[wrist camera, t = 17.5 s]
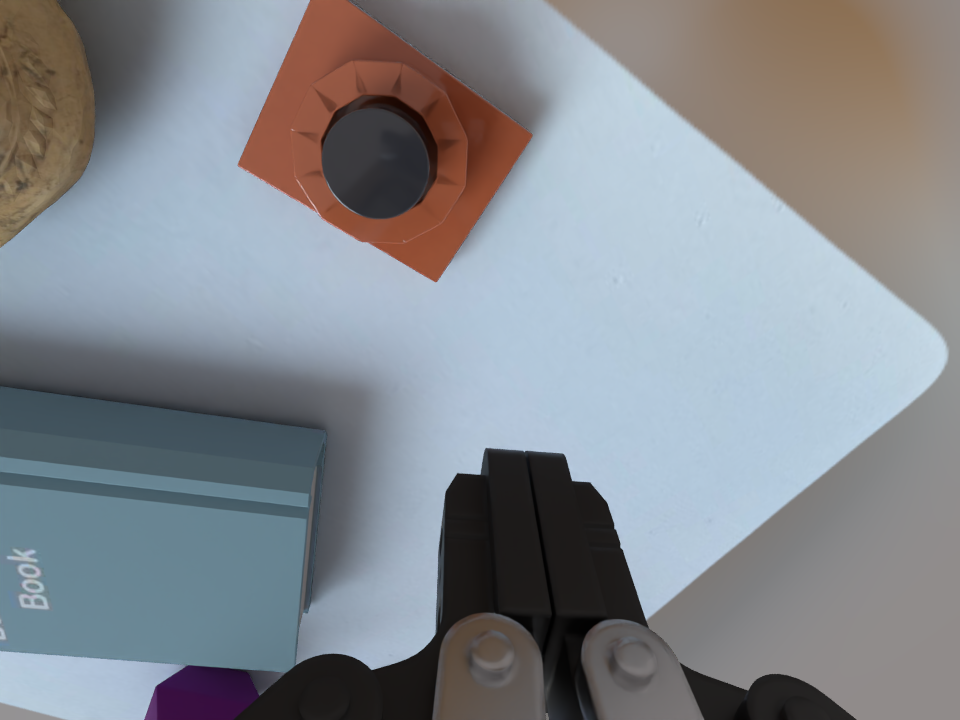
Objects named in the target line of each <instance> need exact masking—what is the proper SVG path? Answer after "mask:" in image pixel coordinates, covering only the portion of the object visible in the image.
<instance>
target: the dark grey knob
mask: <svg viewBox="0 0 960 720" xmlns="http://www.w3.org/2000/svg"><path fill="white" fill-rule="evenodd" d="M321 159H322V171H323V174H324V178H325V181H326V183H327V185H328V187H329V189H330V191H331V192H332V194H333V195H334V197H335V198H336V199H337V200H338V201H339V202H340V203H341V204H342V205H343V206H344V207H346V208H347V209H348V210H350V211H351V212H353V213H355V214H357V215H360V216H362V217H366V218H370V219H390V218H394V217H397V216H399V215H402V214H404V213H405V212H407V211H409V210H410V209H411V208H412V207H414V206H415V204H416V203H417V202H418V201H419V200H420V198H421V197H422V195H423V193H424V191H425V189H426V187H427V184H428V179H429V174H430V167H431V152H430V146H429V143H428V140H427V138H426V135H425V133H424V131H423V130H422V128H421V127H420V125H419V124H418V123H417V122H416V121H415V120H414V119H413V118H412V117H411V116H410V115H409V114H408V113H406V112H405V111H403V110H401V109H399V108H397V107H395V106H392V105H388V104H382V103H371V104H366V105H362V106H359V107H357V108H355V109H353V110H352V111H350V112H349V113H348V114H346V115H345V116H343V117H342V118H340V119H339V120H338V121H337V122H336V123H335V124H334V125H333V127H332V128H331V129H330V131H329V132H328V134H327V136H326V139H325V141H324V144H323V148H322V156H321Z"/></svg>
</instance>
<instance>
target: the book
mask: <svg viewBox="0 0 960 720" xmlns="http://www.w3.org/2000/svg"><path fill="white" fill-rule="evenodd" d="M326 440H327V433H326V431H324V430H317V429H310V428H302V427H295V426H288V425H280V424H273V423H266V422H258V421H251V420H244V419H236V418H229V417H222V416H214V415H207V414H200V413H192V412H185V411H178V410H170V409H163V408H156V407H148V406H141V405H134V404H126V403H119V402H112V401H104V400H97V399H90V398H82V397H75V396H68V395H60V394H53V393H46V392H38V391H31V390H24V389H16V388H9V387H2V386H0V651H7V652H21V653H34V654H47V655H61V656H74V657H87V658H101V659H114V660H127V661H140V662H154V663H167V664H180V665H194V666H207V667H220V668H233V669H247V670H260V671H273V672H288V671H289V670H290V669H292V668H293V667H294V666H295V664H296V655H297V644H298V633H299V626H300V622H301V618H302V614H303V613H308V611H309V607H310V600H311V590H312V580H313V570H314V560H315V550H316V540H317V530H318V520H319V510H320V500H321V490H322V480H323V470H324V460H325V458H324V454H325V449H326Z"/></svg>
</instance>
